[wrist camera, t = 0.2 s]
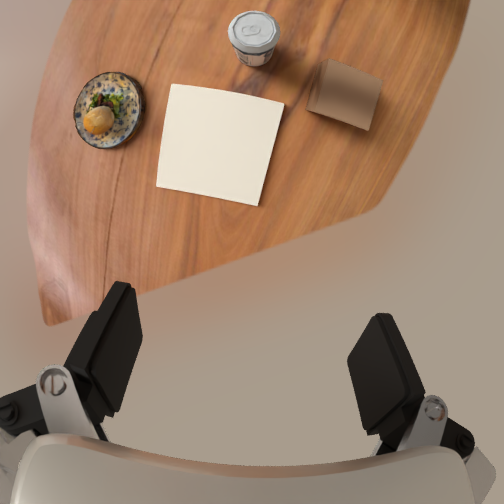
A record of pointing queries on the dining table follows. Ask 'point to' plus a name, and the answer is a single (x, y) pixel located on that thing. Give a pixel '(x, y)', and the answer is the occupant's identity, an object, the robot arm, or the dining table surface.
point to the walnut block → (344, 93)
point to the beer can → (254, 37)
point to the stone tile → (217, 143)
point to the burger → (109, 110)
